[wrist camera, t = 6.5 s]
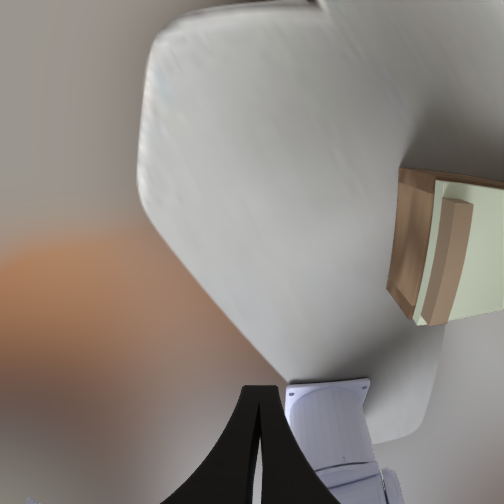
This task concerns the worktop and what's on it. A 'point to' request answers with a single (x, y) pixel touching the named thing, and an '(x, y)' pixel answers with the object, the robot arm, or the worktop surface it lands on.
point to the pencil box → (417, 230)
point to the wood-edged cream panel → (463, 255)
